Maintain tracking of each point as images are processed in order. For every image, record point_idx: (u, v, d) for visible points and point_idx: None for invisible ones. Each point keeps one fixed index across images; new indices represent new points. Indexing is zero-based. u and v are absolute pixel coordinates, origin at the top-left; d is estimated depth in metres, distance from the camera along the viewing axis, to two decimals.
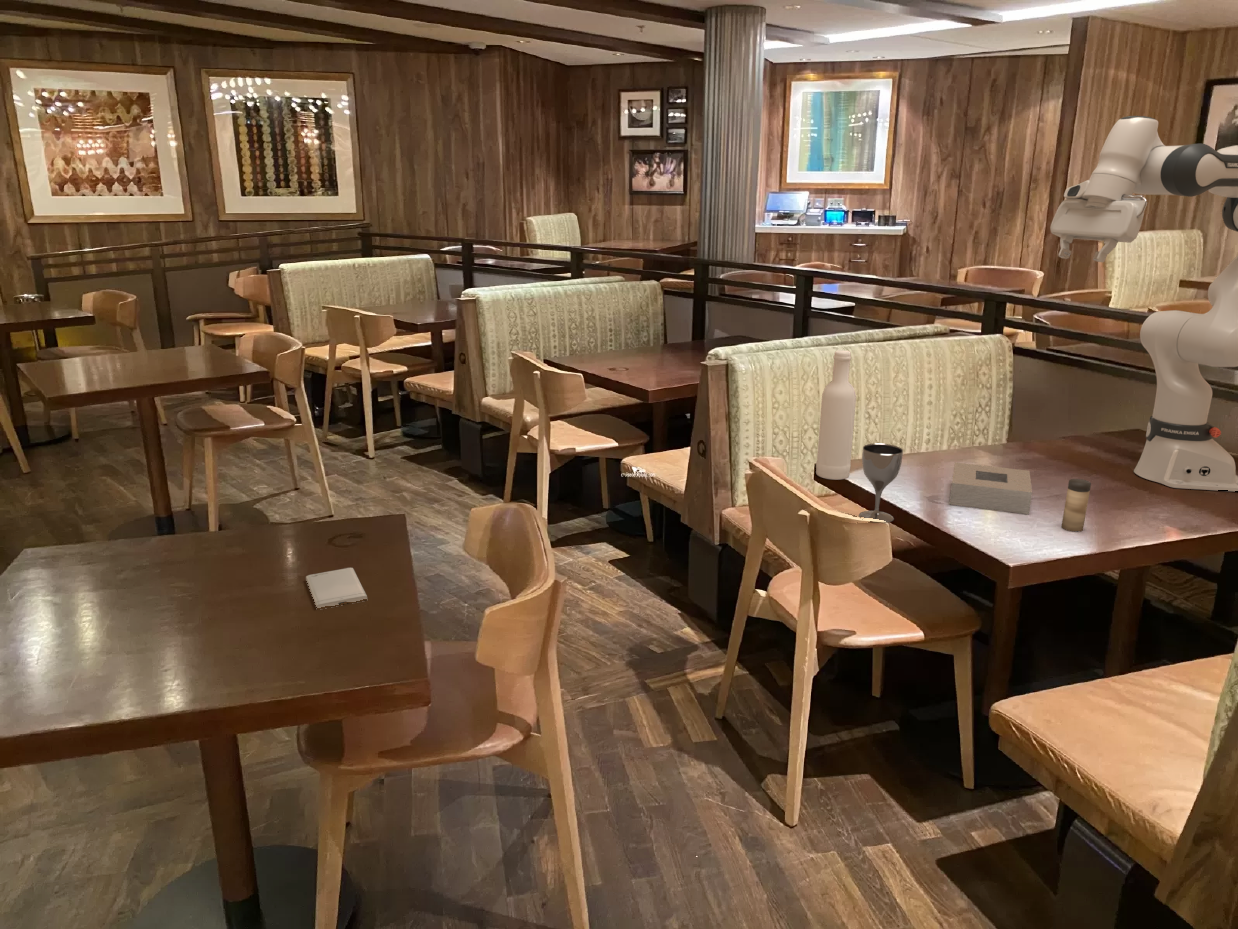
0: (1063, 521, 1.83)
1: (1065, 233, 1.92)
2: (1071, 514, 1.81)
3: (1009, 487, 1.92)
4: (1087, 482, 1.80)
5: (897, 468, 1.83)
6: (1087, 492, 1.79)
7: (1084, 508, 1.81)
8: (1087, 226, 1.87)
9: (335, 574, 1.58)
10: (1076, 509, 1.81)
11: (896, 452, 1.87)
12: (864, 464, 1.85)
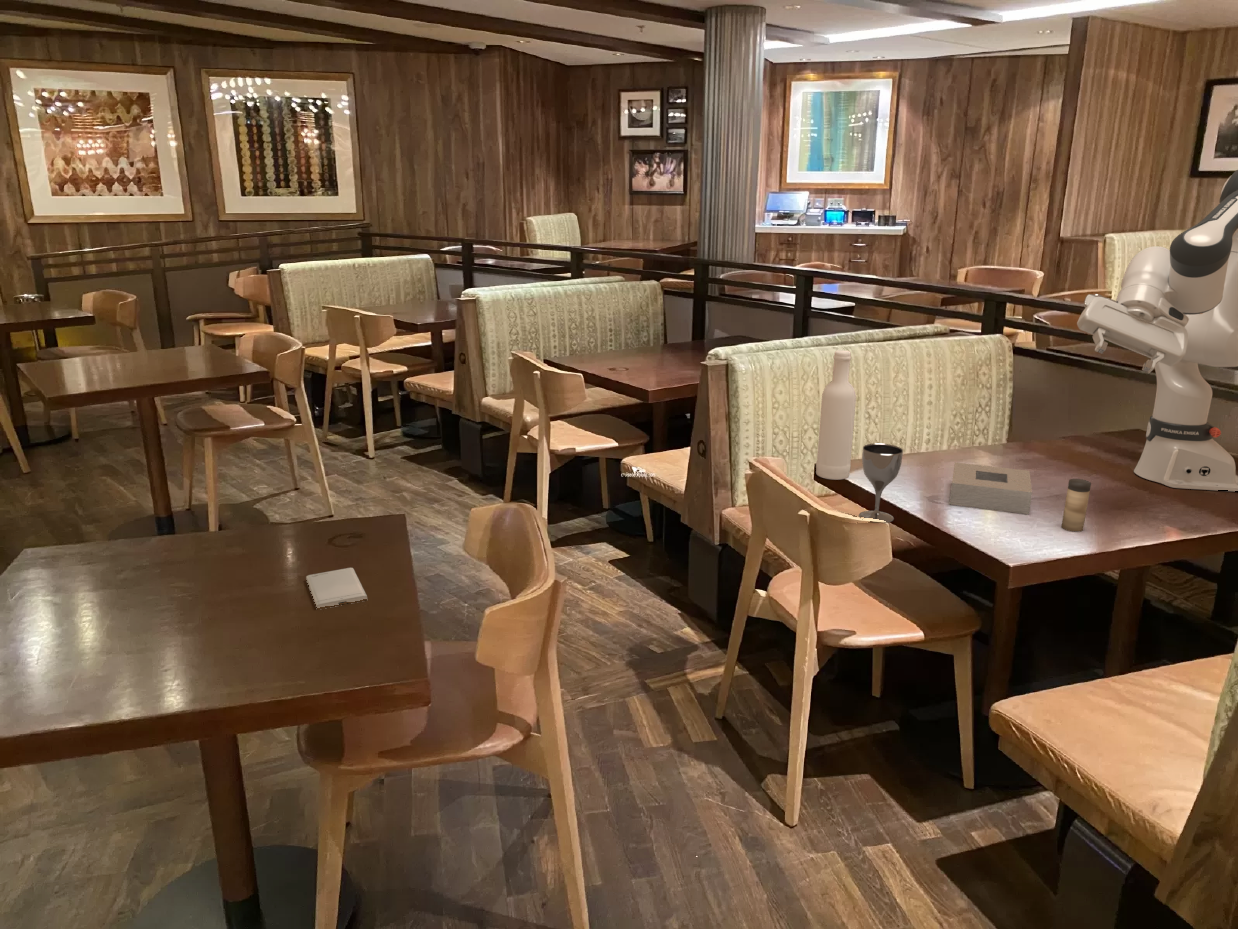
0: (1063, 521, 1.83)
1: (1150, 357, 1.78)
2: (1071, 514, 1.81)
3: (1009, 487, 1.92)
4: (1087, 482, 1.80)
5: (897, 468, 1.83)
6: (1087, 492, 1.79)
7: (1084, 508, 1.81)
8: None
9: (335, 574, 1.58)
10: (1076, 509, 1.81)
11: (896, 452, 1.87)
12: (864, 464, 1.85)
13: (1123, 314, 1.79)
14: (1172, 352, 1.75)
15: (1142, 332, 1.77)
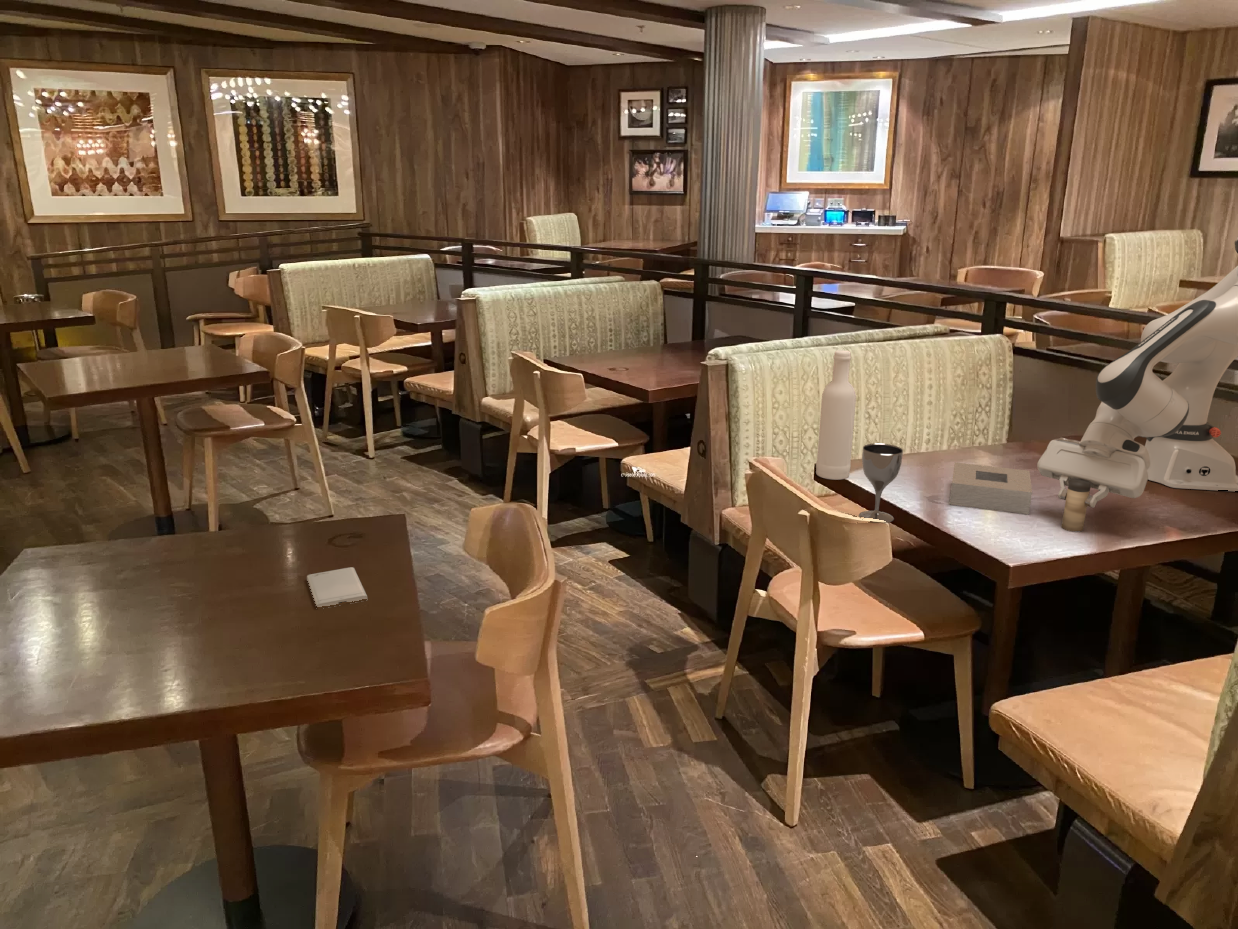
0: (1063, 521, 1.83)
1: None
2: (1071, 514, 1.81)
3: (1009, 487, 1.92)
4: (1087, 482, 1.80)
5: (897, 468, 1.83)
6: (1087, 492, 1.79)
7: (1084, 508, 1.81)
8: None
9: (336, 574, 1.58)
10: (1076, 509, 1.81)
11: (896, 452, 1.87)
12: (864, 464, 1.85)
13: (1079, 455, 1.85)
14: (1124, 486, 1.76)
15: (1094, 470, 1.81)
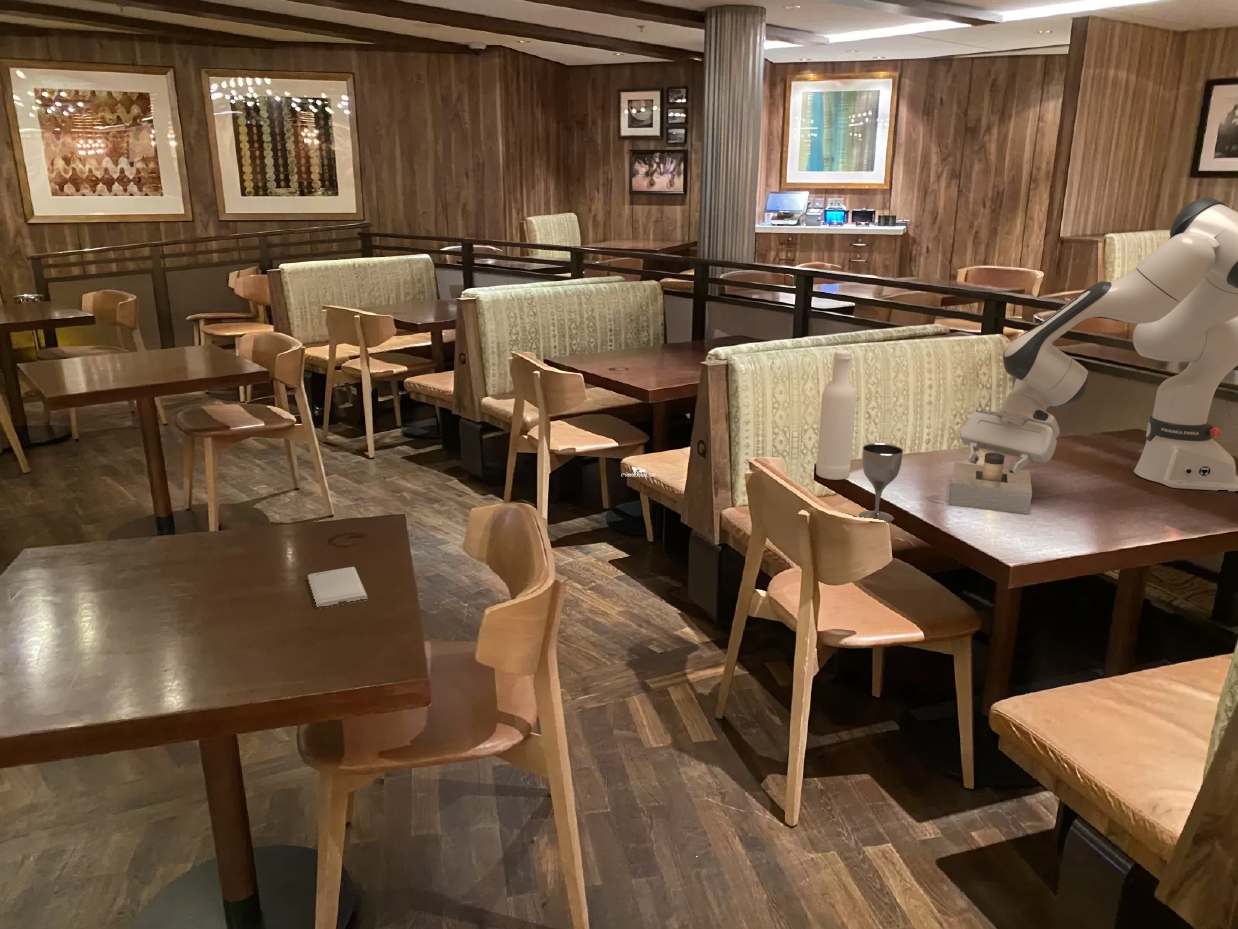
0: None
1: None
2: None
3: (1009, 487, 1.92)
4: (1001, 455, 1.97)
5: (897, 468, 1.83)
6: (1000, 464, 1.96)
7: (999, 479, 1.98)
8: None
9: (337, 573, 1.58)
10: (991, 480, 1.98)
11: (896, 452, 1.87)
12: (864, 464, 1.85)
13: (996, 425, 2.02)
14: (1033, 452, 1.93)
15: (1009, 438, 1.98)
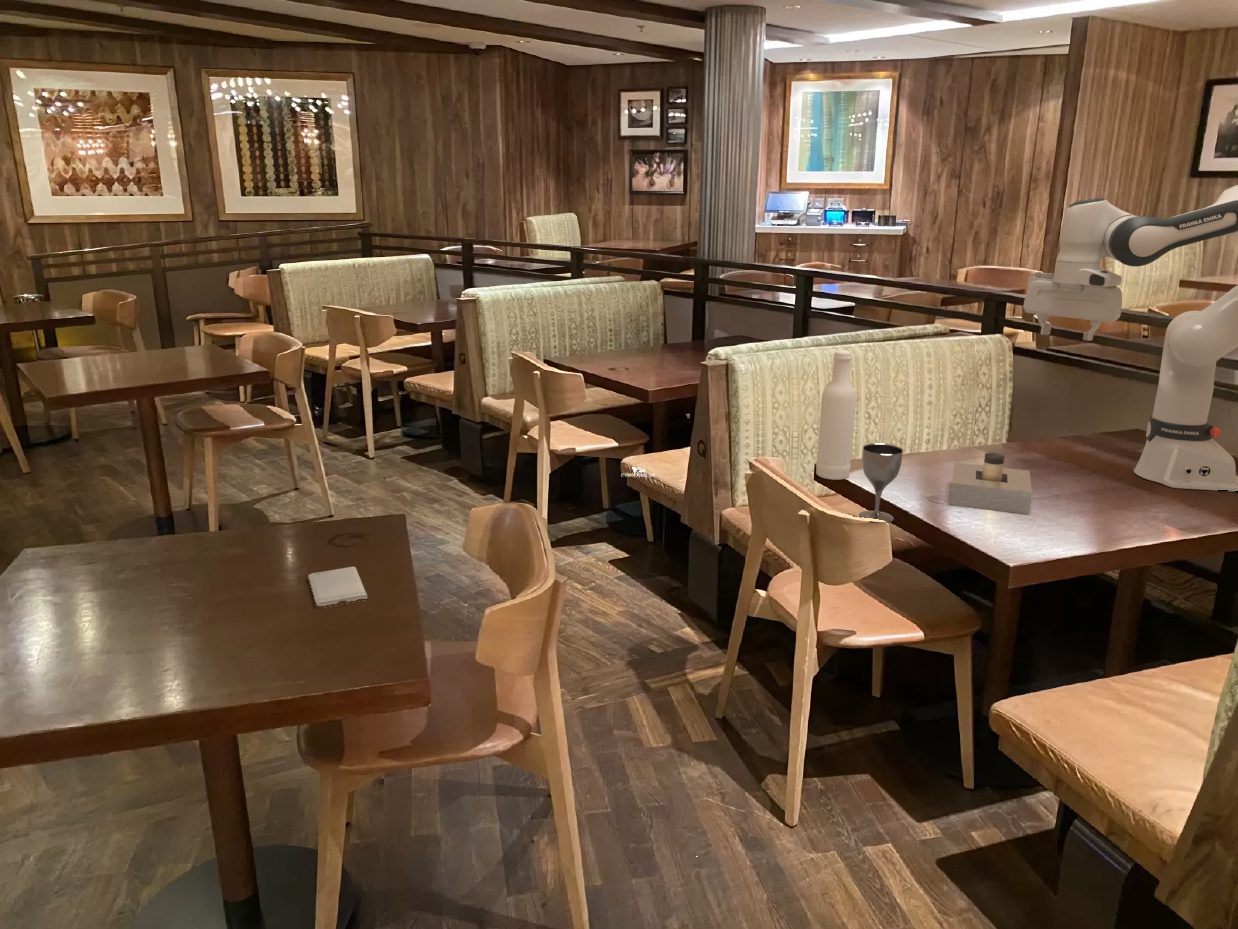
0: None
1: None
2: None
3: (1009, 487, 1.92)
4: (1001, 455, 1.97)
5: (897, 468, 1.83)
6: (1000, 464, 1.96)
7: (999, 479, 1.98)
8: None
9: (337, 573, 1.58)
10: (991, 480, 1.98)
11: (896, 452, 1.87)
12: (864, 464, 1.85)
13: (1056, 292, 2.00)
14: (1101, 319, 1.94)
15: (1073, 307, 1.98)
